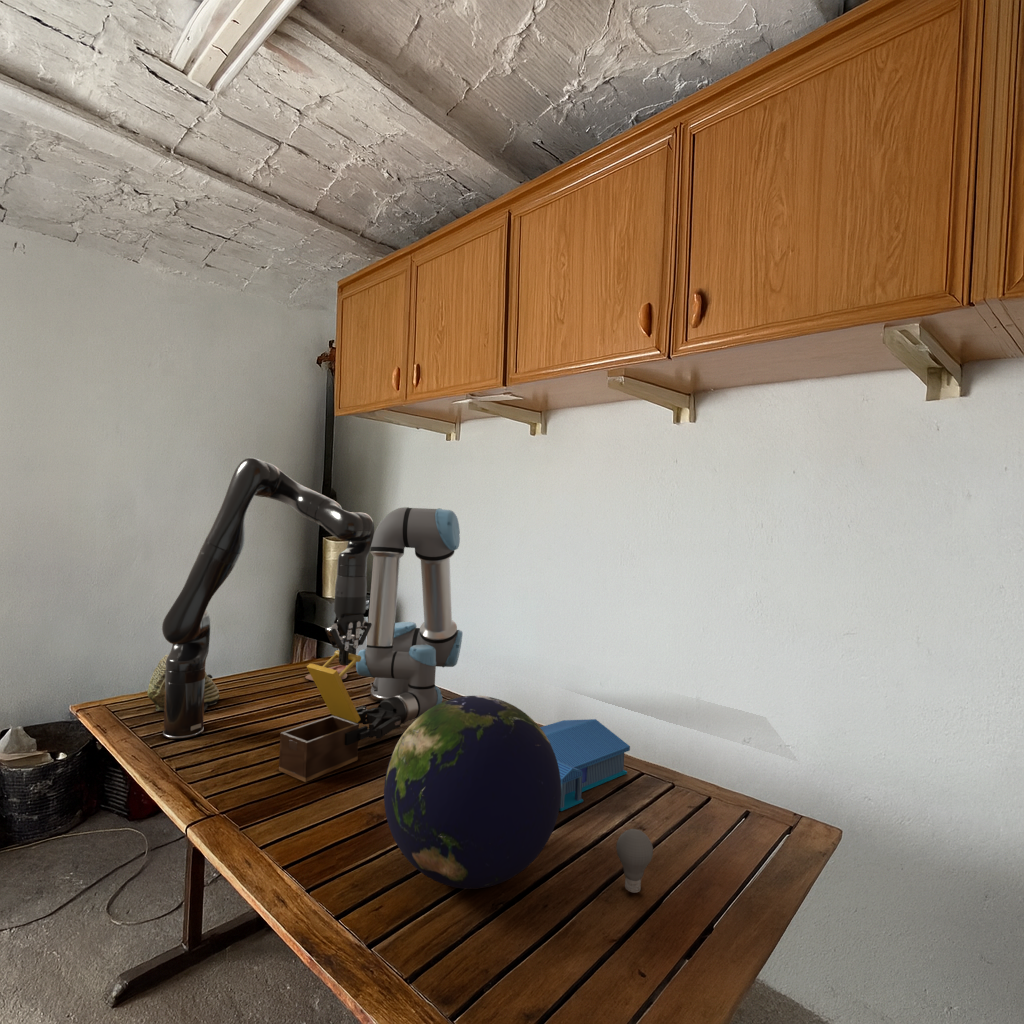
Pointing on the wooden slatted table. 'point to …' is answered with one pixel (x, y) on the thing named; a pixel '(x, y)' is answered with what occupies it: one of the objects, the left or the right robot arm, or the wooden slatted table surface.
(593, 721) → the model building
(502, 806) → the globe
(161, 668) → the fossil
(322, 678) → the lid
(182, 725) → the left robot arm
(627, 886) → the light bulb
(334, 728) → the chest
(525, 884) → the wooden slatted table surface
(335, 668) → the anatomical model
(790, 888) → the wooden slatted table surface
